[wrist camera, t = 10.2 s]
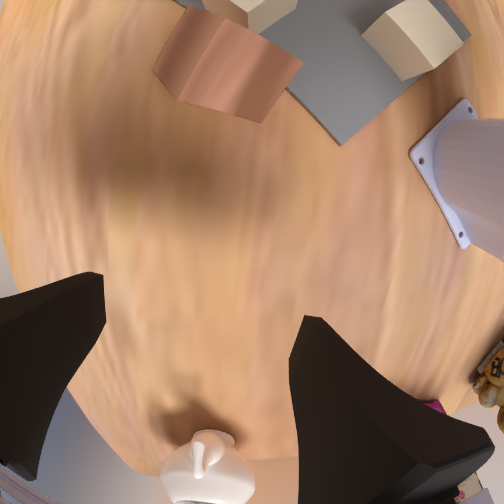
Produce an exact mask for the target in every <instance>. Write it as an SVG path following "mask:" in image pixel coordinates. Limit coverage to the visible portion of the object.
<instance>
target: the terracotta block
mask: <svg viewBox="0 0 504 504" xmlns="http://www.w3.org/2000/svg"><path fill="white" fill-rule="evenodd" d="M303 64H304V62H302V61H301V60H299V59H298V58H296V57H295V56H293V55H292V54H290V53H289V52H287V51H285V50H284V49H282V48H281V47H279V46H277V45H276V44H274V43H272V42H271V41H269V40H267V39H265V38H264V37H262V36H260V35H258V34H256V33H255V32H253V31H251V30H249V29H247V28H245V27H243V26H241V25H239V24H237V23H235V22H233V21H231V20H229V19H227V18H225V17H222V16H219V15H216V14H214V13H211V12H208V11H205V10H202V9H199V8H195V7H192V6H188V8H187V9H186V11H185V13H184V14H183V16H182V17H181V19H180V21H179V22H178V24H177V26H176V27H175V29H174V31H173V33H172V34H171V36H170V38H169V40H168V42H167V44H166V45H165V47H164V49H163V51H162V53H161V55H160V57H159V59H158V61H157V63H156V65H155V67H154V69H153V72H154V73H155V75H156V76H157V77H158V78H159V79H160V81H161V82H162V83H163V84H164V86H165V87H166V88H167V89H168V90H169V92H170V93H171V94H172V95H173V97H174V98H175V99H176V100H177V101H179V102H184V103H188V104H193V105H197V106H201V107H205V108H209V109H213V110H217V111H221V112H224V113H228V114H231V115H235V116H238V117H242V118H245V119H248V120H252V121H255V122H258V123H261V122H262V121H263V119H264V118H265V116H266V115H267V114H268V112H269V111H270V109H271V108H272V106H273V105H274V104H275V102H276V101H277V99H278V98H279V96H280V95H281V94H282V92H283V91H284V89H285V88H286V87H287V85H288V84H289V83H290V81H291V80H292V78H293V77H294V76H295V74H296V73H297V72H298V70H299V69H300V68H301V66H302V65H303Z"/></svg>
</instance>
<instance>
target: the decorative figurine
mask: <svg viewBox="0 0 504 504" xmlns="http://www.w3.org/2000/svg"><path fill="white" fill-rule="evenodd" d="M477 371H478V372H479V373H480V377H479V379H478V380H477V381H476V383H475V384H474V385H473V390H474V392H475V393H476V394H479V401H480V404H481V405H482V406H484V407H485V408H490V407H493V406H494V405H498V406H500V409H499V412H498V417H497V423H498V426H499V428H500V430H501V431H502V432H503V433H504V343H503V342H502V340H500V341H499V343H498V344H497V345H496V346H495V347H494V348H493V349H492V351H491V352H490V354H489V355H488V356H487V357H486V358H485V360H484V361H483V362H482V363H481V364H480V365H479V367H478V368H477Z"/></svg>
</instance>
